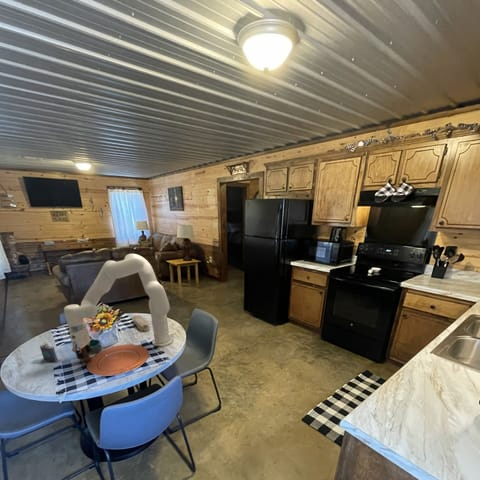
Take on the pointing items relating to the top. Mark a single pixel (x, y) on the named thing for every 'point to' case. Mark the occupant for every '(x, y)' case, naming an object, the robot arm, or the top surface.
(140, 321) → the shoe brush
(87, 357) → the brush
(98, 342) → the bowl
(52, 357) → the flask
